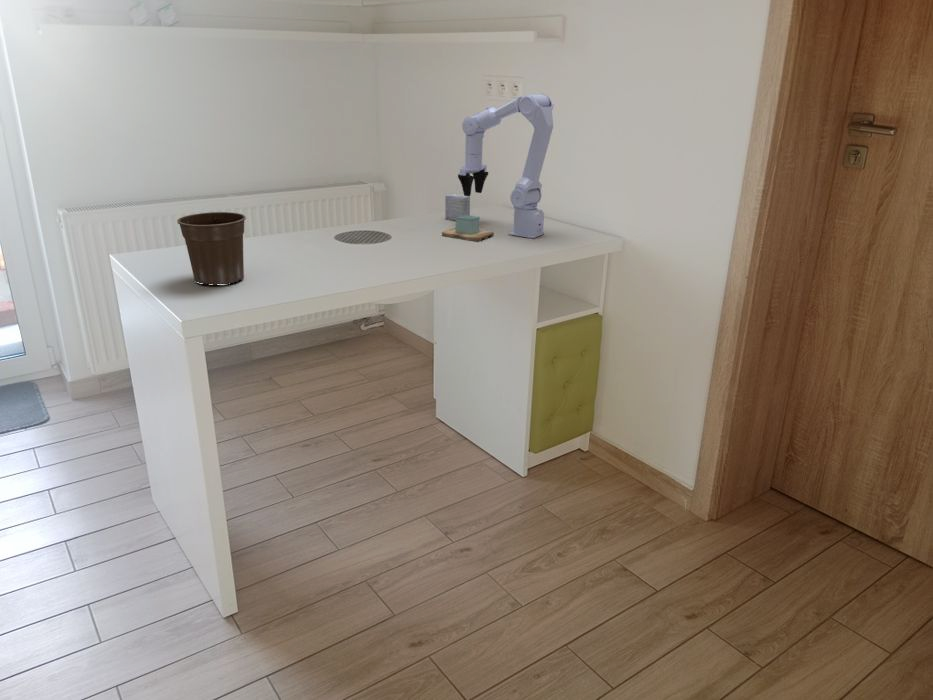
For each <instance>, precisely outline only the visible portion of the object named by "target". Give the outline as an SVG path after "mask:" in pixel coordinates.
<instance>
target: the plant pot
mask: <svg viewBox="0 0 933 700" xmlns="http://www.w3.org/2000/svg"><path fill="white" fill-rule="evenodd" d="M245 221H246V215H244V214H242V213H238V212H227V211H211V212H199V213H194V214H189V215H184V216H182V217H179V218H178V219H177V224H179V227H180V230H181V235H182V237H183V238H184V242H185V245H186V250H187V253H188V258H189V262H190V266H191V267H190V268H191V270H192V274H193V279H194V282H195V281H196V282H199V283H203V284H204V285H207V284H213V285H217V284H229V283H233V284H235V283H234V282H237V283H238V282H239V281H243V280H244V278H245V272H244V270H245V265H244V233H245ZM242 279H243V280H242ZM196 282H195V283H196ZM229 285H230V284H229Z"/></svg>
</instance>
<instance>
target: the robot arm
mask: <svg viewBox="0 0 933 700" xmlns="http://www.w3.org/2000/svg"><path fill="white" fill-rule="evenodd" d="M553 110H554V103H553V101H552V99H551V97H550V96H549V95H548V94H546V93H540V94H527V93H526V94H524V95H522V96H517V98H515V99H513V100H510V101H509V102H508V103H506V104H504V105H502V106H500V107H499V108H497V107H493V106H487V107H485V110H484V111H481V112H476V113H475V115H474V116H470V115H469V116H467V117H465V118H464V119H463V120H462V125H461V127H462V130H463V133H464V134H465V152H464V153H465V154H464V155H465V157H464V158H465V160H464V161H465V162H464V165H462V167H461V168H459V173H458V174H457V179H458V180H459V182H460V184H461V188H462V192H463V195H464V196H470V197H471V194H472V185H473V183H474V190H475V191H474V192H475V193H477V194H481V193H482V192H483V189H484V185H485V181H486V180H487V177H488V176H489V171H487V168H488V167H487V164H483V143H484V142H483V140H484V136H485V132H486V131H487V130H489V129H491V128H493V127H496V126H497V125H500V123H501V122H502V119H504V118H506V117H508V116H511V115H513V114H516V113H521V115H522V116H524V118H526V120H527V121H528V122H529V123H531V125H532V126H533V129H534V130H533V134H532V136H531V141H530V145H529V148H528V154H527V156H526V160H525V163H524V164H525V165H524V168H523V172H522V175H521V178H520V179H519V180H517V182H516V184H515V186H514V188H513V190H512V191H511V193H510V197H509V198H510V202H511V205H512V206H513V211H514V212H513V231H510V232H508V236H509V235H510V236H517V237H522V238H529V239H535V238H537V237H540V236H542V235H544V234H545V233H544V221H545V214H544V211H543V210H542V209H539V208H537V207H538V203H540V202H541V200H542V186H543V184H542V182H540V177H541V172H542V169H543V166H544V161H545V158H546V154H547V151H548V148H549V145H550V141H551V136H552V133H553V129H554V120H553V119H554V118H553ZM471 174H472V175H471Z"/></svg>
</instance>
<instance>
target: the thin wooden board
mask: <svg viewBox="0 0 933 700" xmlns="http://www.w3.org/2000/svg"><path fill="white" fill-rule="evenodd" d="M441 235H442V237H447V238H448V237H449V238H453V237H455V238H454V239H459V238H461V240H465V239H468V240H467V241H471V240H473V242H477V241H480V242H482V241H483V240H487V239H489V238H492V236H493V237H494V235H495V232H494V231H488V230H481V229H479V232H478V233H475V234H472V235H469V234H462V233H456V227H453V228H450V229H448V230H447V229H446V230H445V231H444V230H443V231H442V232H441Z"/></svg>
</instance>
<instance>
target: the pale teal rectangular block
mask: <svg viewBox="0 0 933 700" xmlns="http://www.w3.org/2000/svg"><path fill="white" fill-rule="evenodd" d="M455 219H456V221H455V228H456V233H462V234H469V235H472V234H475V233H478V232H479V230H480V216H477V215H471V214H470V215H461V216H458V217H455Z"/></svg>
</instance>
